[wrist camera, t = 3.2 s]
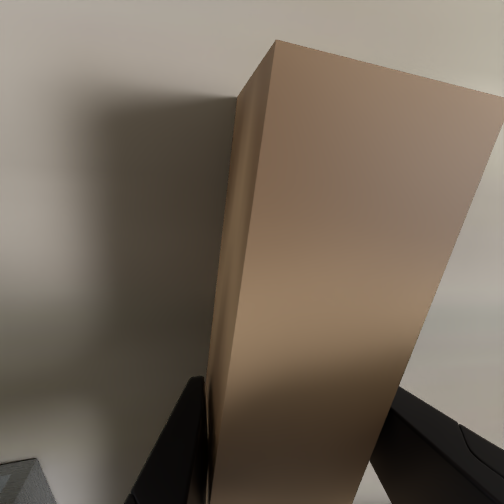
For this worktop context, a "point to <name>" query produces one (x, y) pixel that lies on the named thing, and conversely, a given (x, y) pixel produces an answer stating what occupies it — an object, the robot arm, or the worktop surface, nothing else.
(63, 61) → the worktop surface
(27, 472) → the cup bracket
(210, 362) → the walnut rail
